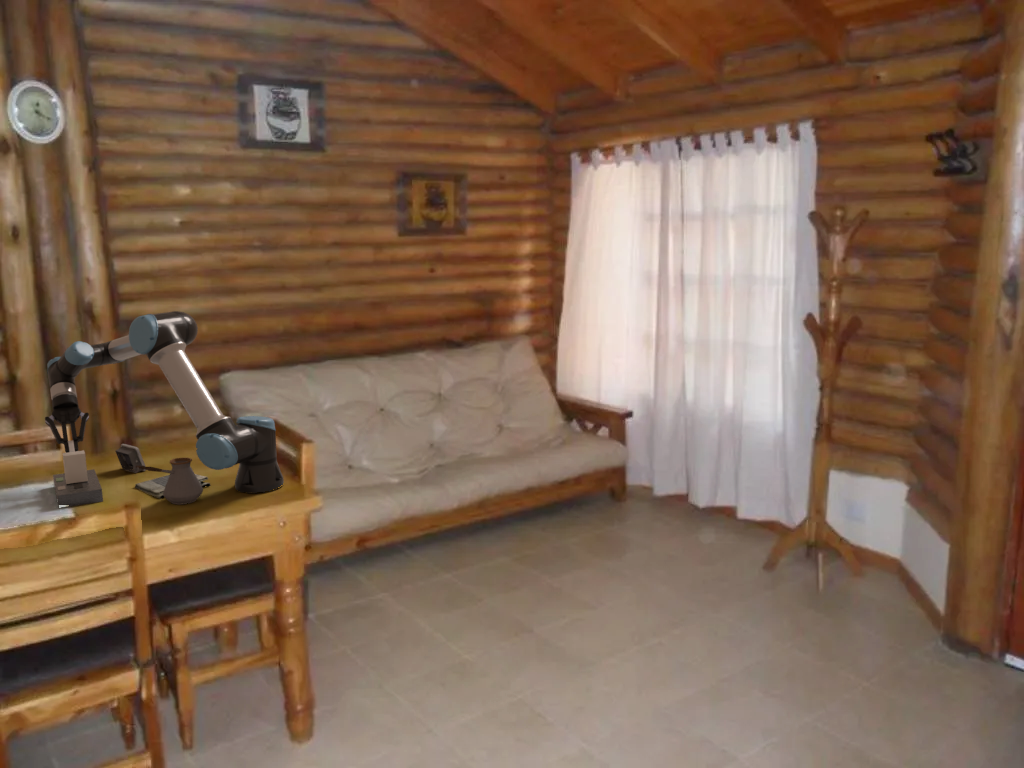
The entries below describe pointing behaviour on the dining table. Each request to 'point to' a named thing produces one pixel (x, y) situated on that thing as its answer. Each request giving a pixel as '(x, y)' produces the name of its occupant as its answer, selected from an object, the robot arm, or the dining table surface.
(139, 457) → the electrical switch
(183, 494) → the coffee pot
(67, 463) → the handle
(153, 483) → the dish towel
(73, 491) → the box
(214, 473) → the dining table surface
